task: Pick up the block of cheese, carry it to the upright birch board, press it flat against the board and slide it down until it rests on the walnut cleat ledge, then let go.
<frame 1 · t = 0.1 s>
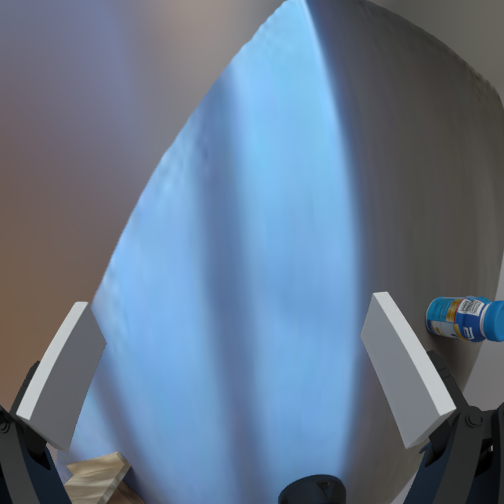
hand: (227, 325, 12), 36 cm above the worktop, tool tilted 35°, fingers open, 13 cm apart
beverage bottle: (437, 315, 48), on the worktop
wall board: (101, 470, 41), on the worktop
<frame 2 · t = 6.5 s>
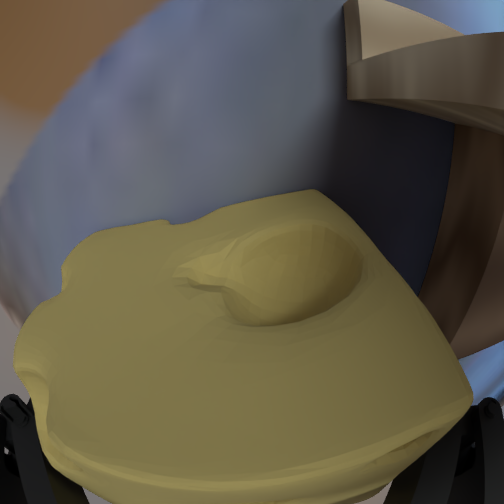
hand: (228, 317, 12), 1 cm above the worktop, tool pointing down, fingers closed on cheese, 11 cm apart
cheese: (229, 298, 14), on the worktop, touching gripper
wall board: (498, 126, 9), on the worktop
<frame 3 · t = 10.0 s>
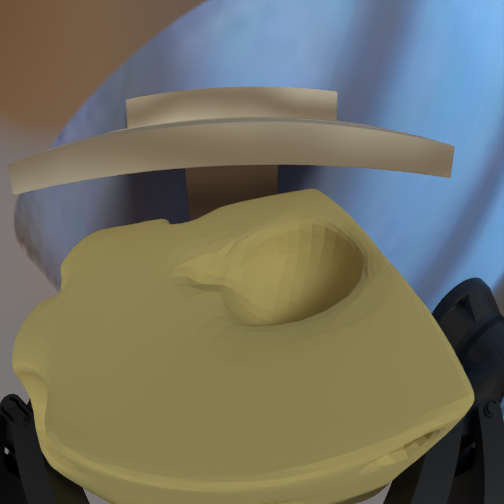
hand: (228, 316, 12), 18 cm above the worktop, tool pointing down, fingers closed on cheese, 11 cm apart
cheese: (228, 298, 14), point 17 cm above the worktop, touching gripper
wall board: (231, 124, 25), on the worktop
when the fingers open (6 cm above the worktop, at t = 13.7 s): cheese stays where it is, resting on wall board.
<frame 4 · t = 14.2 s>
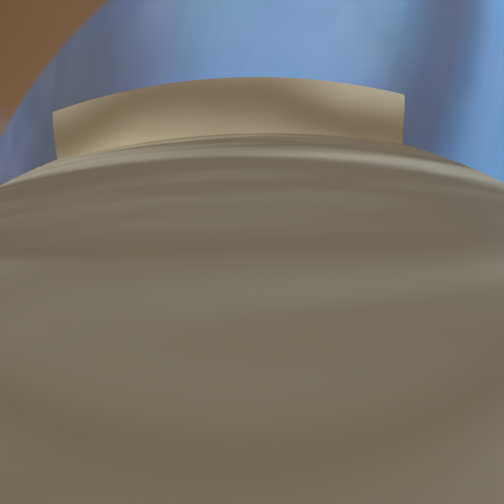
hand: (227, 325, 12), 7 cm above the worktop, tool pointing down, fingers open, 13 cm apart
wall board: (225, 145, 14), on the worktop
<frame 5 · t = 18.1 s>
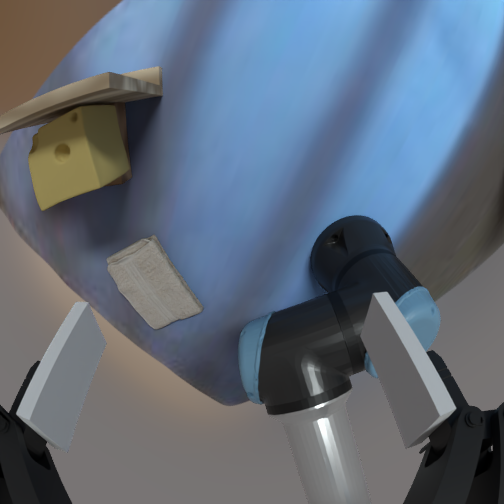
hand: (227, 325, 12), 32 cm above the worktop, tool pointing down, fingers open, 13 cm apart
cheese: (95, 147, 33), point 4 cm above the worktop, touching wall board
wall board: (102, 103, 33), on the worktop
washcloth: (155, 281, 49), on the worktop
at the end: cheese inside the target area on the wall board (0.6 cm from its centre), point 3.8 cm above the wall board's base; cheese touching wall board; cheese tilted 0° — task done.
